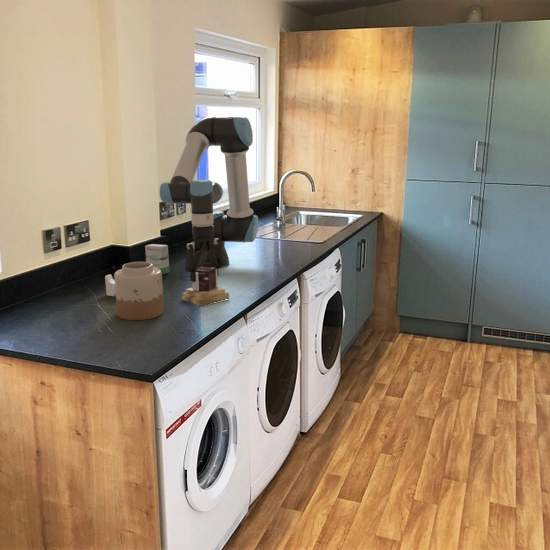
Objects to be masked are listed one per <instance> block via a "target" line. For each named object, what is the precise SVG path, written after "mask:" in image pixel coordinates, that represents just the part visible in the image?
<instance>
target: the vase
mask: <svg viewBox="0 0 550 550" xmlns="http://www.w3.org/2000/svg"><path fill="white" fill-rule="evenodd" d="M113 280H114V281H115V292H116V296H115V302H116V303H115V304H116V313H117V315H116V316H117V317H118V318H120V319H122V320H127V321H146V320H151V319H155V318H158V317H160V316H162V315H163V314H164V307H165V306H164V293H163V292H164V291H163V290H164V289H163V274H162V273H161V270H160V269H159V268H156V267H153V264H152V263H149V262H146V261H132V262H128V263H124V264H123V265H122V267H121V269H117V270H116V271H115V272H114V276H113Z"/></svg>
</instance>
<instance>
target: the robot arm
mask: <svg viewBox="0 0 550 550" xmlns="http://www.w3.org/2000/svg"><path fill="white" fill-rule="evenodd" d="M253 135H254V134H253V129H252V125H251V122H250V120H249V119H248V118H247V117H246V116H244V115H243V116H238V115H225V116H223V115H219V116H215V115H212V116H210V115H209V116H207V117H204V118H203V119H200V120H199V121H198V122H196V123H195V124H194V125H193V126H192V127H191V128H190V129H189V131H188V133H187V135H186V137H185V146H184V148H183V151H182V153H181V155H180V158H179V160H178V163H177V165H176V168H174V169H175V170H174V172H173V174H172V177H171V179H170V180H169V181H166V182H162V183H161V184H160V186H159V198H160V200H161V202H162V203H165V204H182V205H183V204H184V205H185V204H186V205H187V204H190V211H191V212H190V213H191V225H192V226H191V231H192V232H191V233H192V242H190V243H188V242H187V243H185V248H186V253H185V254H186V256H185V267H184V271H185V272H188V273H189V274H190V276H189V277H190V282H191V283H192V287H193V290H195V291H199V279H198V273H197V272H196V271H197V268H199V267H210V268H216V286H217V287H219V283H218V277H219V276H220V275H219V274H220V272H219V271H220V270H219V269H221V268H224V267H227V266H228V265H230V258H229V255H228V253H227V248H226V245H225V244H226V243H225V242H227V243H229V242H230V243H252V242H254V241H255V240H256V238H257V235H258V229H259V217H258V215H256V214H254V209H253V208H251V207H250V195H249V180H248V179H249V178H248V169H247V168H248V167H247V152H248V151H249V150H250V146H252V145H253V141H254V140H253V139H254V138H253V137H254V136H253ZM209 147H220V152H221V153H222V154H223V155H224V160H225V161H224V162H225V171H226V182H227V192H228V193H227V194H228V205H229V209H228V210H227V212H226V214H225V212H224V211H222V210H215V211H214V204H216V203H219V201H220V200H221V199H222V198H223V196H224V195H223V194H224V190H223V187H222V185H220V184H219V183H218V182H217V181H212V180H210V179H195V175H196V173H197V170H198V168H199V166H200V164H201V160H202V158H203V155H204V153H205V152H207V150H208V149H209Z"/></svg>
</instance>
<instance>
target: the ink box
mask: <svg viewBox="0 0 550 550" xmlns="http://www.w3.org/2000/svg"><path fill="white" fill-rule="evenodd" d="M144 248H145V262H149V263H152V264H153V267H156V268H159V269H160V270H161V273H162V275H166V274H168V273H170V261H169V259H170V258H169V245H167V244H158V243H157V244H156V243H151V244H147V245H144Z"/></svg>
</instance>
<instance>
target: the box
mask: <svg viewBox="0 0 550 550" xmlns="http://www.w3.org/2000/svg"><path fill="white" fill-rule="evenodd" d="M196 272H197V273H198V279H199V290H200V291H210V290H212V289H214V288H216V268H210V267H197V271H196Z"/></svg>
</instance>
